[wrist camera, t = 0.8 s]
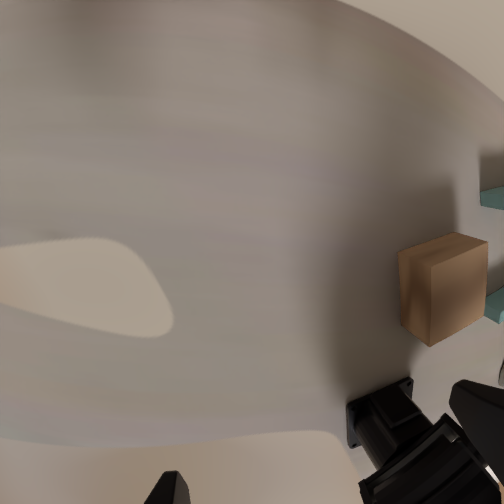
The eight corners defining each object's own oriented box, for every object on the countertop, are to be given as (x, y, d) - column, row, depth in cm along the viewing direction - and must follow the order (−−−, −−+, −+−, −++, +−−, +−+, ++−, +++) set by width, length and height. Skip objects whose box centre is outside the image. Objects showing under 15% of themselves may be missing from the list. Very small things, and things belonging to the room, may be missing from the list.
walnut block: (453, 298, 22) (483, 315, 18) (399, 323, 22) (429, 347, 18) (452, 231, 21) (488, 241, 17) (395, 251, 20) (431, 266, 16)
